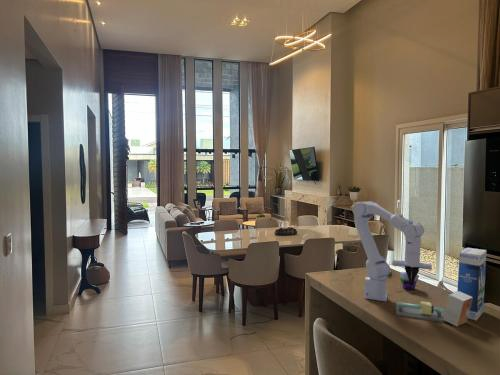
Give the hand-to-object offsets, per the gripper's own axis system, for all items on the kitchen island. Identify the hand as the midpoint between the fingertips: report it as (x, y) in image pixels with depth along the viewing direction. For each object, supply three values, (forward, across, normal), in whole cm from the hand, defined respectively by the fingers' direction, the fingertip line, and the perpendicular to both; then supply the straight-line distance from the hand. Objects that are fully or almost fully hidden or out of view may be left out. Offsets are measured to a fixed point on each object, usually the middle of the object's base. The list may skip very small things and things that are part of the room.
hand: (411, 284), depth 150 cm
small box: (+10, +16, -7) cm, 20 cm away
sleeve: (+9, +5, -5) cm, 12 cm away
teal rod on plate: (+10, +3, -5) cm, 12 cm away
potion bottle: (+11, 0, +28) cm, 30 cm away
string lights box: (+10, +22, +5) cm, 25 cm away
